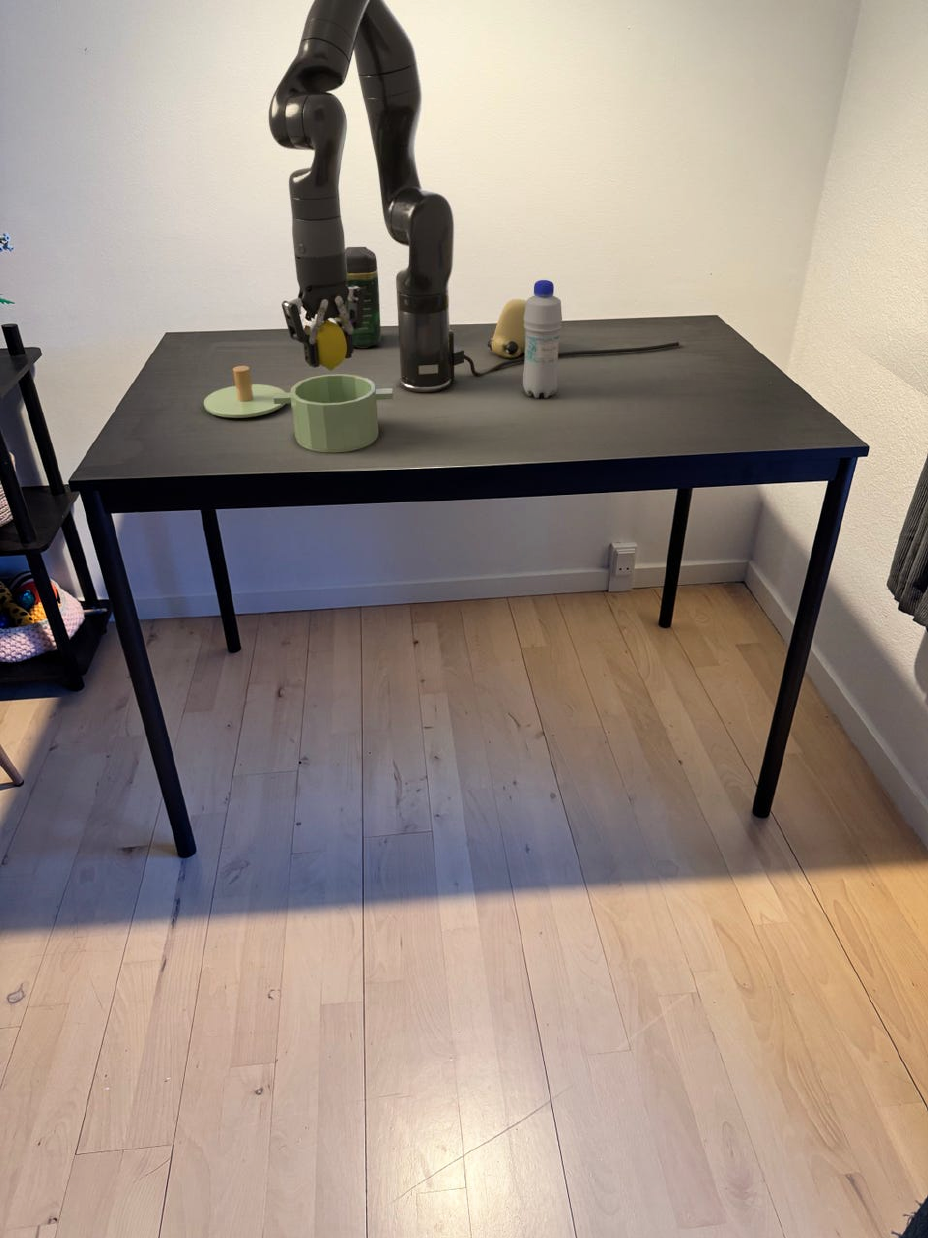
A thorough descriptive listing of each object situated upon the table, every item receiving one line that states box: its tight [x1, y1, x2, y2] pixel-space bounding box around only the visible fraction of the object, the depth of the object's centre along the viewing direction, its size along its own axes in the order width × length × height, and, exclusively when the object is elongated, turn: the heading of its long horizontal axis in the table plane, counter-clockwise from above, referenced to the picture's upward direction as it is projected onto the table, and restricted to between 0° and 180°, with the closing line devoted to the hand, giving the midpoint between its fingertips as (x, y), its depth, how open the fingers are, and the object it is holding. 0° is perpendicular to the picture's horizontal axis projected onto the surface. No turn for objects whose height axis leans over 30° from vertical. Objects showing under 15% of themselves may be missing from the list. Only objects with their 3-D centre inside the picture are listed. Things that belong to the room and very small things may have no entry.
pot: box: [274, 373, 394, 454], centre depth 145 cm, size 14×19×8 cm
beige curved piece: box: [487, 298, 527, 359], centre depth 178 cm, size 10×12×11 cm
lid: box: [203, 365, 286, 419], centre depth 157 cm, size 15×15×7 cm
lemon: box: [315, 319, 347, 371], centre depth 139 cm, size 6×6×8 cm
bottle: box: [522, 279, 563, 399], centre depth 156 cm, size 7×7×20 cm
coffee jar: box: [344, 246, 382, 349], centre depth 182 cm, size 10×8×19 cm
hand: (329, 361), depth 140 cm, fingers closed on lemon, 5 cm apart
